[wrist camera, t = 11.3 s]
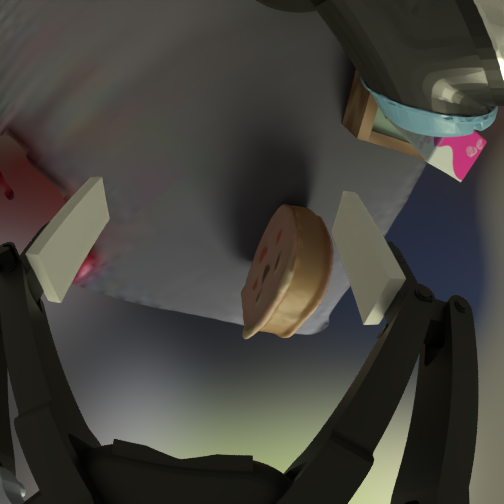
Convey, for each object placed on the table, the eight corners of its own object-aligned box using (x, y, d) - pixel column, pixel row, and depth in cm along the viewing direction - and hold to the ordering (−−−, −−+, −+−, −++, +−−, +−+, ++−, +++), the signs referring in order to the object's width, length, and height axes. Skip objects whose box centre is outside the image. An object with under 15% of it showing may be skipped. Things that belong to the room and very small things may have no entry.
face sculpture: (281, 185, 43) (294, 257, 30) (321, 199, 44) (347, 273, 32) (240, 274, 55) (236, 350, 42) (273, 283, 56) (278, 357, 44)
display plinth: (361, 47, 28) (381, 48, 23) (430, 77, 30) (456, 86, 24) (341, 124, 36) (357, 138, 31) (409, 145, 37) (431, 162, 32)
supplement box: (417, 136, 31) (460, 185, 23) (383, 117, 29) (423, 162, 22) (437, 102, 26) (489, 142, 19) (403, 79, 25) (453, 112, 17)
